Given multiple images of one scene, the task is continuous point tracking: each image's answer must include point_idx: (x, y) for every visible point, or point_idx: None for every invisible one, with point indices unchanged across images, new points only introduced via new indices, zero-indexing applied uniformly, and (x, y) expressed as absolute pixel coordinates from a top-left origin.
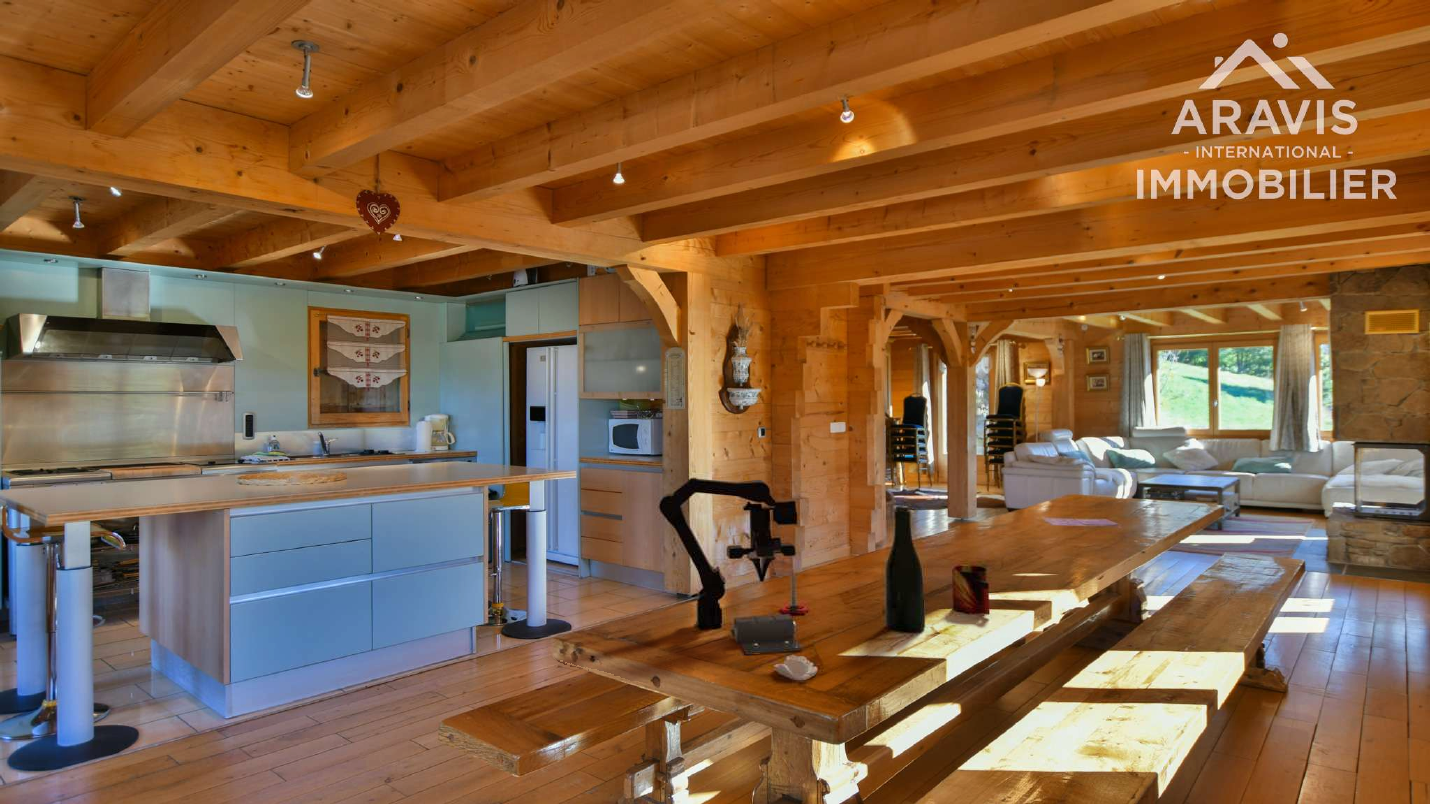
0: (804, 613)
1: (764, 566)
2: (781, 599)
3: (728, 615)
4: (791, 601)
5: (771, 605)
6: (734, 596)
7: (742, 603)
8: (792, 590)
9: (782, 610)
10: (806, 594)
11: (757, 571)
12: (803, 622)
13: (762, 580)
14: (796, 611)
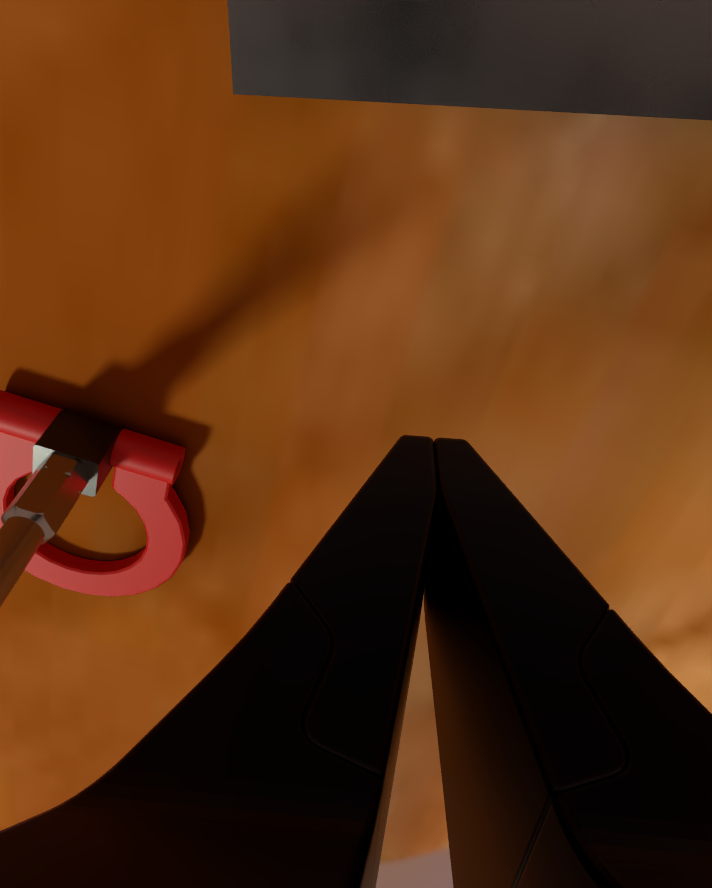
0: (1, 391)
1: (361, 697)
2: (156, 714)
3: (605, 533)
4: (67, 494)
5: (236, 641)
6: (413, 810)
7: (409, 714)
8: (3, 567)
9: (176, 502)
10: (5, 745)
11: (600, 601)
12: (14, 163)
13: (424, 445)
14: (62, 419)
